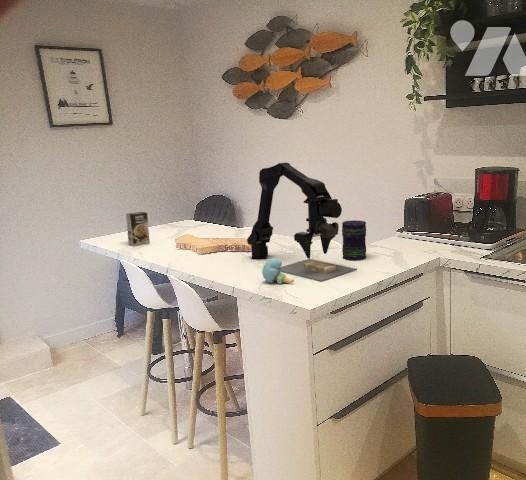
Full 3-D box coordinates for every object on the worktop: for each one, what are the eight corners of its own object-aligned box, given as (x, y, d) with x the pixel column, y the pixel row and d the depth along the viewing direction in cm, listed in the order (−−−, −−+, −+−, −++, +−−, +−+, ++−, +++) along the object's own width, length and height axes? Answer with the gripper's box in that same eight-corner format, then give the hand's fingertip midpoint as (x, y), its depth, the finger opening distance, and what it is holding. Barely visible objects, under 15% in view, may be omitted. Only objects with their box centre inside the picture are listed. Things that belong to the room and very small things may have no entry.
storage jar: (347, 254, 219) (347, 219, 215) (369, 256, 214) (369, 221, 211) (338, 259, 210) (338, 224, 207) (361, 261, 205) (361, 225, 202)
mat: (273, 270, 199) (273, 268, 199) (309, 259, 212) (309, 258, 212) (321, 281, 181) (321, 280, 181) (356, 270, 194) (356, 268, 194)
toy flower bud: (290, 264, 175) (259, 259, 180) (289, 289, 177) (259, 283, 183) (298, 259, 181) (269, 254, 187) (297, 283, 183) (268, 277, 189)
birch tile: (303, 263, 197) (326, 268, 188) (312, 261, 200) (335, 265, 191) (303, 268, 198) (326, 273, 189) (312, 265, 201) (335, 271, 192)
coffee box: (133, 246, 255) (130, 214, 252) (128, 244, 260) (125, 213, 257) (150, 243, 261) (147, 212, 257) (144, 241, 266) (141, 211, 262)
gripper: (314, 221, 179) (315, 264, 182) (348, 214, 191) (349, 254, 194) (292, 218, 187) (293, 259, 191) (326, 211, 199) (327, 250, 203)
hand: (317, 256), depth 194 cm, fingers open, 9 cm apart
